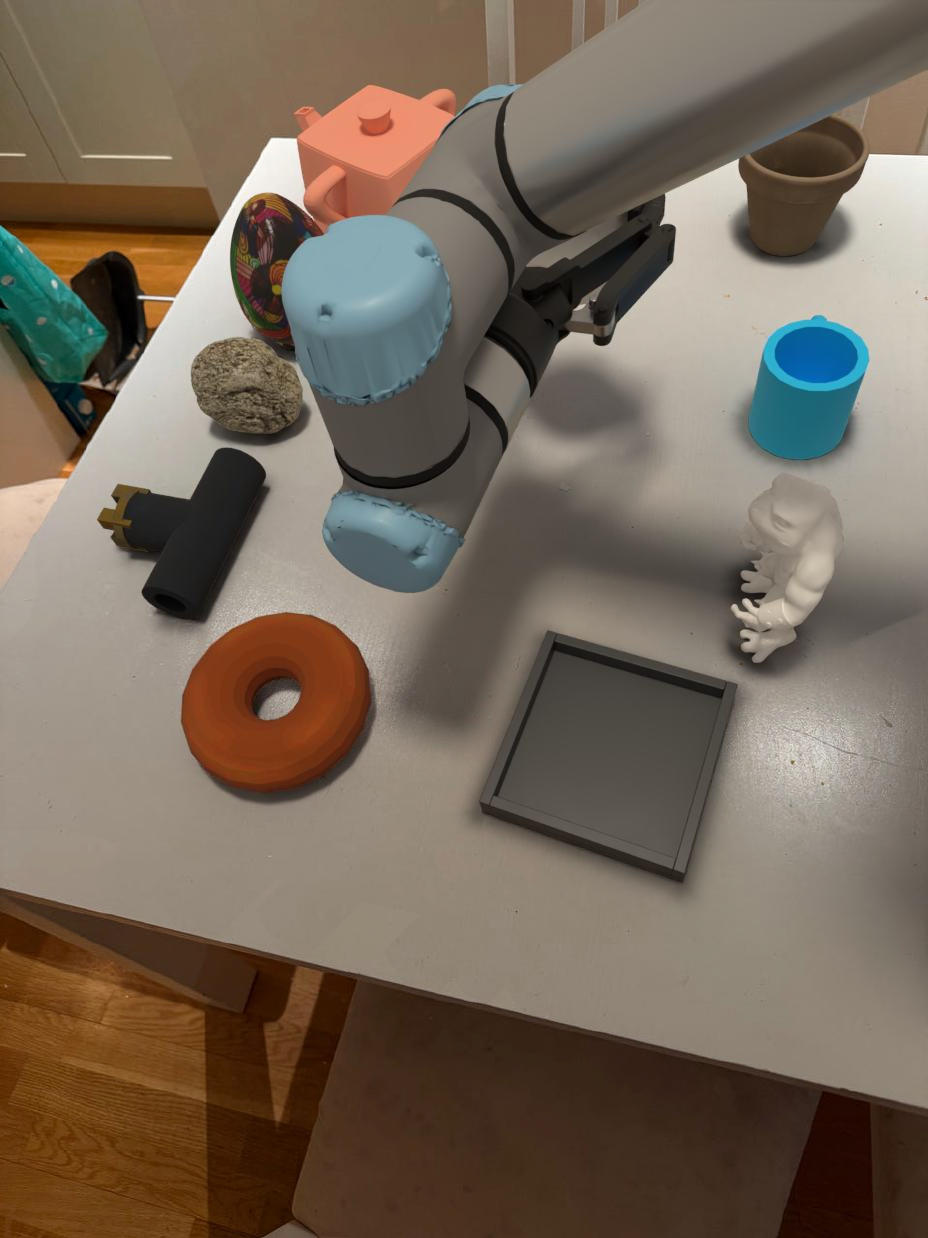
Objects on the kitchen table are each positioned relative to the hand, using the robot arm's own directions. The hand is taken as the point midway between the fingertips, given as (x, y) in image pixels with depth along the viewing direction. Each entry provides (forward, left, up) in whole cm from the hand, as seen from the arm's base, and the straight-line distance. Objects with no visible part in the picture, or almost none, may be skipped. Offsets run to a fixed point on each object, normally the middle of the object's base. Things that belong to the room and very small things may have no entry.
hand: (590, 162), depth 66 cm
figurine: (-21, +21, -22) cm, 37 cm away
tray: (-13, +36, -22) cm, 44 cm away
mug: (-19, -1, -22) cm, 29 cm away
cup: (0, +4, -6) cm, 8 cm away
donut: (+12, +41, -22) cm, 48 cm away
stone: (+29, +14, -22) cm, 39 cm away
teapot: (+30, -17, -22) cm, 41 cm away
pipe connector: (+29, +29, -22) cm, 46 cm away
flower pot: (-13, -24, -22) cm, 35 cm away
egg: (+31, +1, -22) cm, 38 cm away
